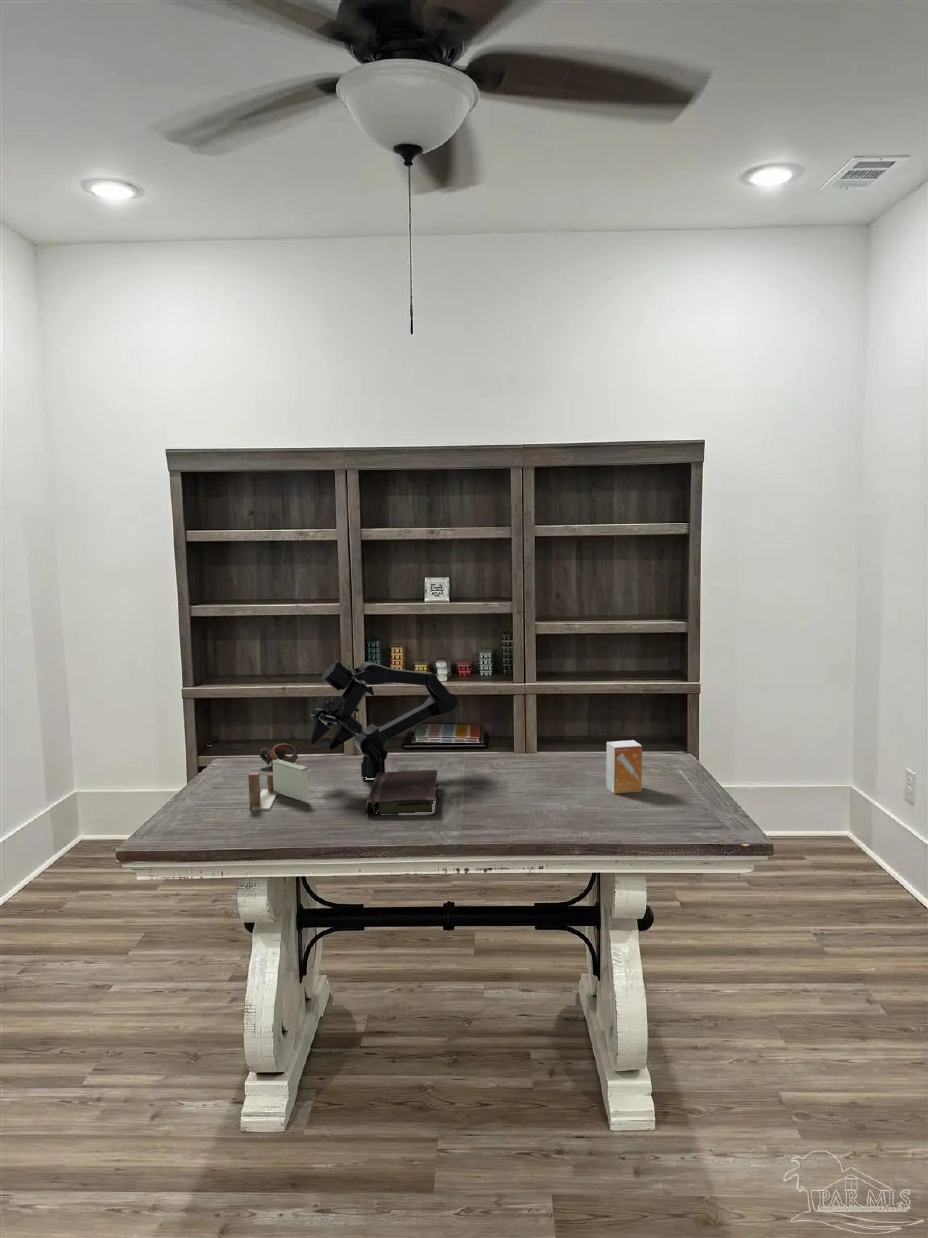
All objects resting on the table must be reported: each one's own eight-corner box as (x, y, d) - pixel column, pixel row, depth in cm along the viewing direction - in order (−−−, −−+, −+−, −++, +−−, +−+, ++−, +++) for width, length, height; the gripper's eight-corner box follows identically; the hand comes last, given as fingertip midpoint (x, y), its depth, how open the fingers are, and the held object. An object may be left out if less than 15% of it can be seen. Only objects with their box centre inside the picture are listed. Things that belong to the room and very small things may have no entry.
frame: (279, 790, 244) (278, 759, 242) (269, 810, 227) (268, 776, 226) (259, 791, 243) (258, 759, 242) (248, 811, 227) (246, 777, 226)
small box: (614, 794, 235) (614, 747, 233) (605, 787, 241) (605, 741, 239) (642, 792, 236) (642, 745, 235) (633, 785, 243) (633, 739, 241)
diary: (365, 819, 221) (364, 800, 220) (375, 789, 246) (374, 771, 245) (438, 817, 221) (437, 798, 220) (441, 786, 246) (440, 769, 245)
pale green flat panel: (273, 790, 240) (272, 760, 239) (279, 788, 242) (278, 759, 241) (302, 800, 231) (301, 769, 230) (308, 798, 233) (307, 767, 232)
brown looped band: (299, 763, 272) (302, 744, 268) (291, 784, 264) (294, 765, 260) (261, 754, 272) (263, 735, 267) (252, 775, 264) (255, 756, 259)
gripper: (313, 680, 250) (283, 726, 244) (350, 688, 236) (319, 736, 230) (338, 701, 256) (309, 746, 251) (376, 710, 243) (346, 758, 237)
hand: (320, 746), depth 242 cm, fingers open, 9 cm apart
